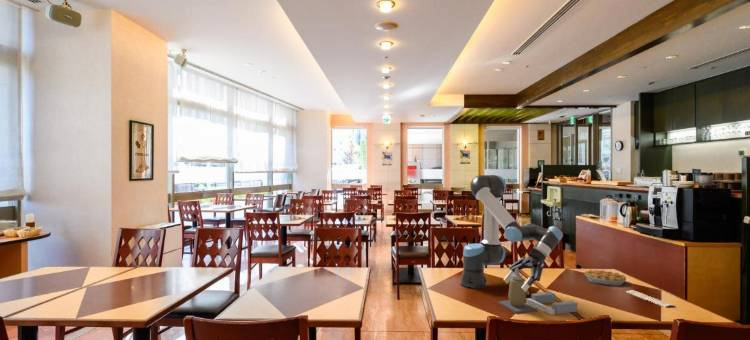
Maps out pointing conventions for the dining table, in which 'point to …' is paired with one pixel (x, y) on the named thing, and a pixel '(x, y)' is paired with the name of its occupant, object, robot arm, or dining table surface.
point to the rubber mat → (516, 309)
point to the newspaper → (649, 298)
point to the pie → (605, 277)
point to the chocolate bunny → (527, 290)
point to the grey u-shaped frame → (556, 307)
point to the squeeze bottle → (516, 290)
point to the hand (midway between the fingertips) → (513, 285)
